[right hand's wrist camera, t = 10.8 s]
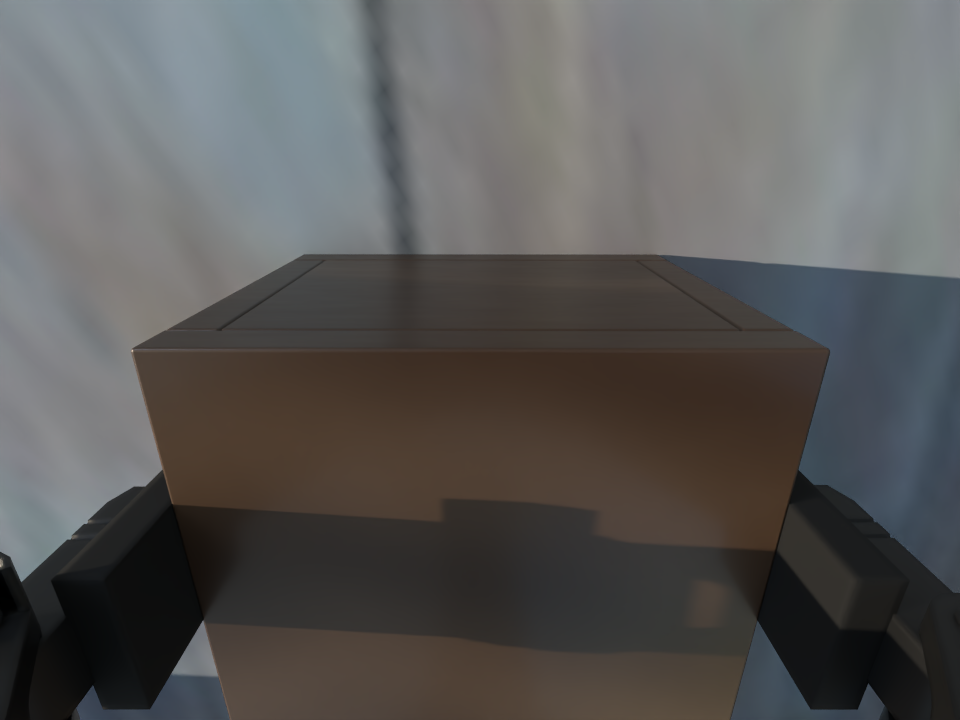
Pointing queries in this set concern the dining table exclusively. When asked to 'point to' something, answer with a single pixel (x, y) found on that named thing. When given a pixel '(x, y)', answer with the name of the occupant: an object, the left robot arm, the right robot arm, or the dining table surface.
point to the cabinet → (480, 484)
